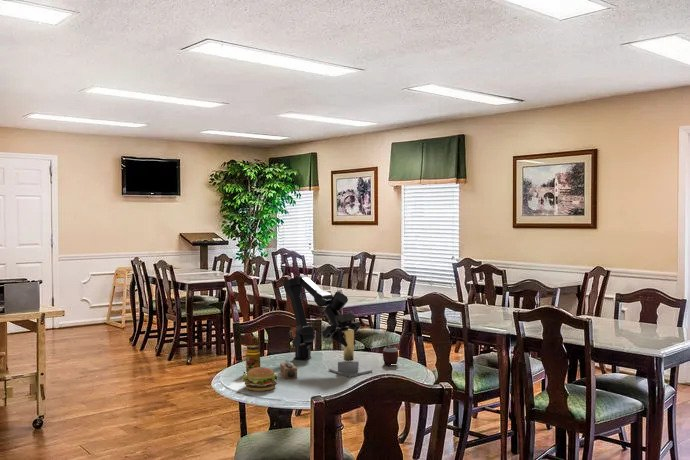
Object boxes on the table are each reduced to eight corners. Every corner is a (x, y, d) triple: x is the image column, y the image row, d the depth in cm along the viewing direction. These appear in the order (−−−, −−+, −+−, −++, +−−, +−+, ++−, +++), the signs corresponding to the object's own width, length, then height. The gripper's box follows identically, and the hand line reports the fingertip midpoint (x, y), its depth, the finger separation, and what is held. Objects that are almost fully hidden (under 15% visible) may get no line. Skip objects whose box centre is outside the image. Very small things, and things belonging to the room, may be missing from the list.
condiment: (246, 376, 275) (246, 348, 275) (243, 371, 283) (243, 344, 283) (263, 375, 277) (263, 347, 277) (259, 370, 285) (259, 343, 285)
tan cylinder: (343, 360, 282) (343, 331, 281) (343, 358, 286) (343, 329, 286) (353, 361, 282) (354, 331, 281) (353, 358, 286) (353, 329, 286)
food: (234, 388, 257) (234, 368, 256) (263, 381, 266) (263, 362, 266) (255, 395, 247) (255, 374, 247) (284, 388, 257) (284, 368, 256)
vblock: (328, 371, 284) (328, 359, 284) (350, 366, 293) (350, 355, 293) (350, 377, 274) (350, 365, 274) (372, 372, 282) (372, 360, 282)
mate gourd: (395, 367, 292) (396, 334, 292) (379, 365, 295) (379, 333, 294) (399, 363, 299) (400, 331, 299) (383, 362, 302) (383, 330, 301)
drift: (284, 363, 281) (284, 359, 281) (288, 363, 281) (288, 359, 281) (288, 368, 272) (288, 364, 272) (292, 368, 273) (292, 364, 273)
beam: (280, 372, 282) (280, 362, 282) (291, 371, 283) (291, 362, 283) (285, 379, 270) (285, 369, 270) (297, 378, 272) (297, 368, 272)
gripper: (326, 307, 280) (343, 337, 272) (358, 303, 292) (375, 331, 285) (315, 323, 286) (331, 352, 278) (346, 318, 299) (362, 346, 291)
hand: (350, 345), depth 283 cm, fingers closed on tan cylinder, 4 cm apart
